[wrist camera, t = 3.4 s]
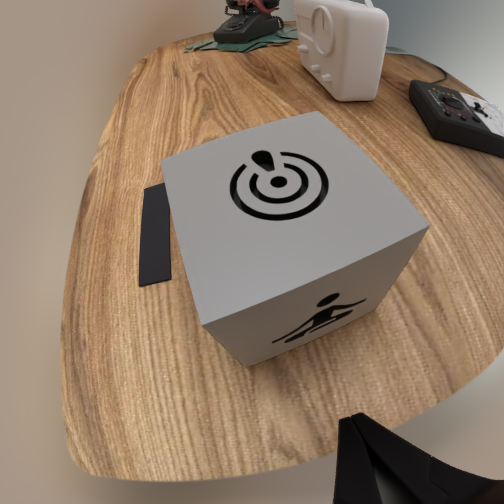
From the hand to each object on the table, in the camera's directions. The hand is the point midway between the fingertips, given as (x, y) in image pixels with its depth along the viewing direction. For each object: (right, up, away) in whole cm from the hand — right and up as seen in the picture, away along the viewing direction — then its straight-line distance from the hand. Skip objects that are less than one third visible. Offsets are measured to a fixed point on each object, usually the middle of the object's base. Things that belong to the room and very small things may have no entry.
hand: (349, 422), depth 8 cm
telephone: (-3, +69, +55) cm, 88 cm away
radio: (+10, +34, +31) cm, 47 cm away
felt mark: (-13, +8, +18) cm, 23 cm away
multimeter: (+31, +25, +22) cm, 45 cm away
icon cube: (-1, +4, +13) cm, 14 cm away
